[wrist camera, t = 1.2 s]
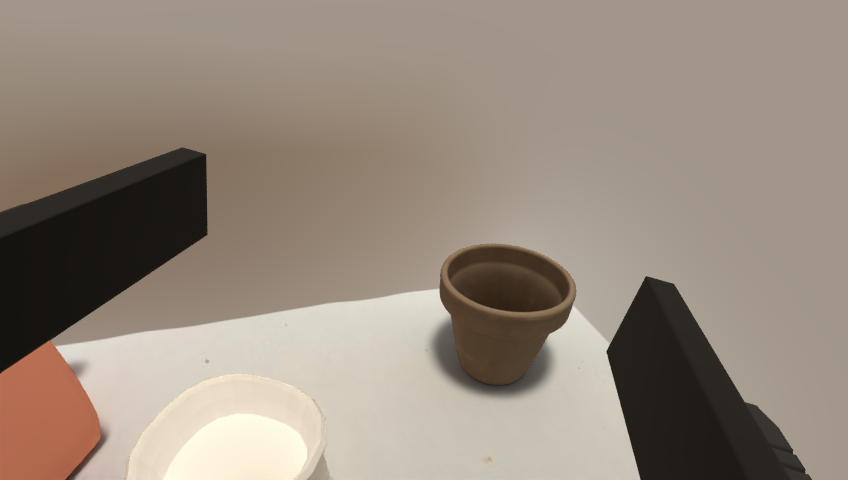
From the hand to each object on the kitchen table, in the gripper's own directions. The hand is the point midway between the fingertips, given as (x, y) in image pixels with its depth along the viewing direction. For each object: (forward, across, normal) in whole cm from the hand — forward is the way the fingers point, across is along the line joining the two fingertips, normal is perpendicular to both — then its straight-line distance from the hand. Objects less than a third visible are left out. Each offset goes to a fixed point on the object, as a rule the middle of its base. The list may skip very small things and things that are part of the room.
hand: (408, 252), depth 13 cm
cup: (+4, -6, -26) cm, 27 cm away
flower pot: (+23, +8, -22) cm, 33 cm away
